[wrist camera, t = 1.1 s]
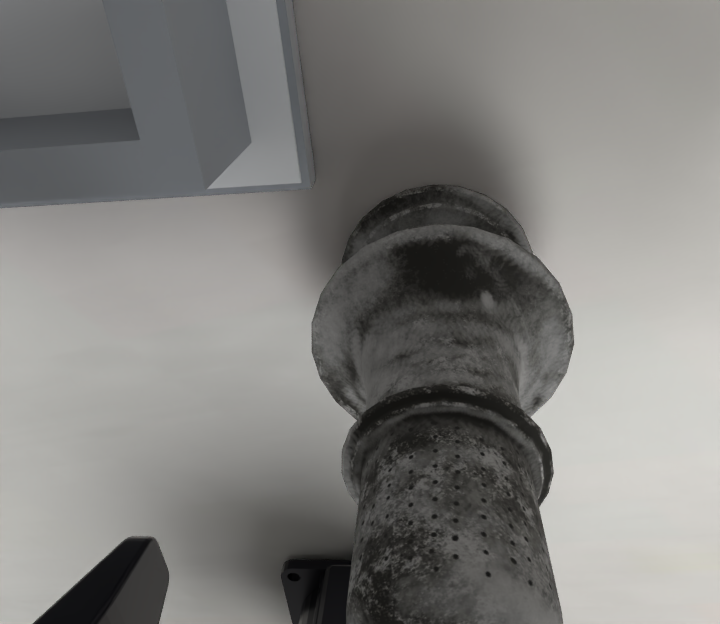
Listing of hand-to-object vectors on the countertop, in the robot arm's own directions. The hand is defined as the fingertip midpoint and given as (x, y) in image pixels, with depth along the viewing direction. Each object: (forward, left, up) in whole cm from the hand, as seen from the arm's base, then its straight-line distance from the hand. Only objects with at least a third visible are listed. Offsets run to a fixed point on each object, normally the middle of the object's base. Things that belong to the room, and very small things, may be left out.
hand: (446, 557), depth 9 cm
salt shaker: (0, 0, -9) cm, 9 cm away
